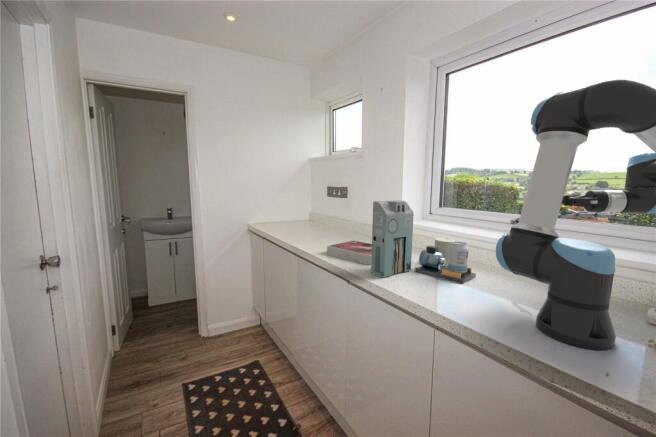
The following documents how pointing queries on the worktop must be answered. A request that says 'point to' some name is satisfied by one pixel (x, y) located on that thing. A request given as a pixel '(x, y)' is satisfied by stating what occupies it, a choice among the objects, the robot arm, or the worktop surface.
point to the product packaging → (352, 251)
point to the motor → (440, 266)
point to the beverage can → (458, 257)
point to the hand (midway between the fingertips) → (530, 199)
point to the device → (391, 238)
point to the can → (444, 247)
